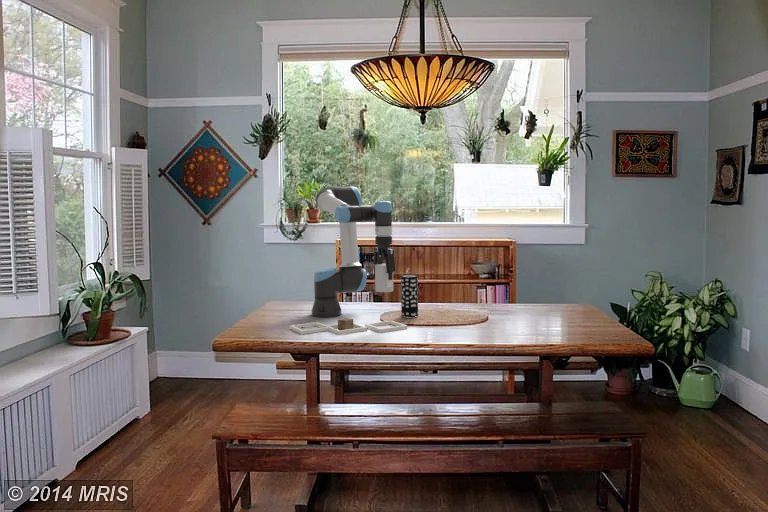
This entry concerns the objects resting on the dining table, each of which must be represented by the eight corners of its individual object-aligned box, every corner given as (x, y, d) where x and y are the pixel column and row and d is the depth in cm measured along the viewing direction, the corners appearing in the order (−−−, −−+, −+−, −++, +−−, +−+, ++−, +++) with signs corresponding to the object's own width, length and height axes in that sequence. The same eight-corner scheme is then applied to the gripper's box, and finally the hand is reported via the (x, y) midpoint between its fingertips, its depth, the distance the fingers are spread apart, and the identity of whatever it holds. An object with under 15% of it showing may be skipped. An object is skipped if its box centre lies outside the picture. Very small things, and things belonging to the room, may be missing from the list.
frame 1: (289, 328, 310) (289, 325, 310) (317, 325, 317) (317, 321, 317) (302, 334, 298) (302, 330, 298) (330, 330, 305) (330, 327, 305)
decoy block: (337, 330, 305) (337, 319, 305) (345, 328, 309) (345, 317, 308) (346, 331, 302) (345, 320, 301) (353, 329, 306) (353, 318, 305)
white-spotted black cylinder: (420, 315, 337) (419, 275, 335) (415, 318, 330) (415, 277, 328) (404, 314, 340) (403, 274, 338) (399, 317, 332) (398, 277, 330)
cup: (391, 292, 301) (390, 265, 300) (373, 292, 303) (373, 265, 302) (394, 289, 309) (394, 263, 308) (377, 289, 311) (377, 263, 310)
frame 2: (324, 329, 308) (324, 325, 308) (352, 325, 315) (352, 322, 315) (339, 334, 296) (338, 331, 296) (366, 330, 303) (366, 327, 303)
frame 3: (365, 327, 311) (365, 323, 310) (391, 323, 318) (391, 320, 318) (380, 332, 299) (380, 329, 298) (407, 328, 306) (407, 325, 306)
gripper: (365, 234, 311) (366, 283, 313) (388, 237, 293) (389, 289, 295) (379, 234, 315) (380, 282, 317) (403, 236, 297) (403, 287, 299)
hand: (384, 285), depth 306 cm, fingers closed on cup, 8 cm apart
